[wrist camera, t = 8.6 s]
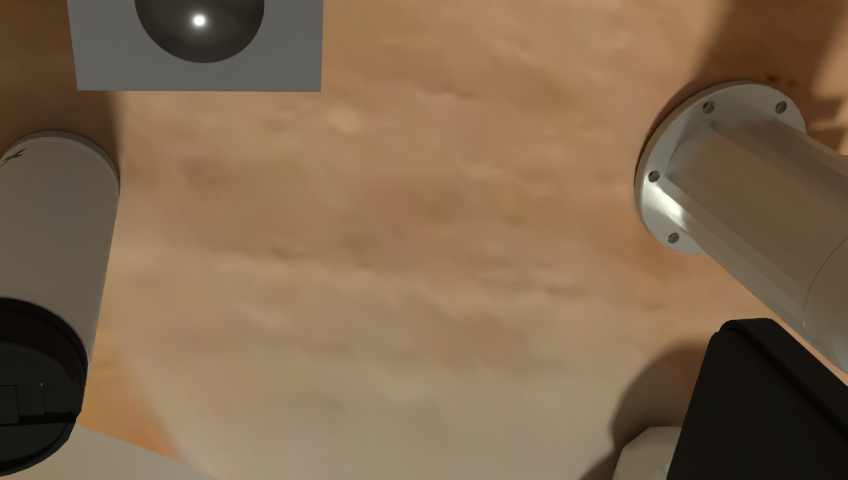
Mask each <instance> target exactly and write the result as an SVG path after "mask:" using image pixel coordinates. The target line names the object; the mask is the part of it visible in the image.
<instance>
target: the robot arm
mask: <svg viewBox="0 0 848 480" xmlns="http://www.w3.org/2000/svg"><path fill="white" fill-rule="evenodd" d="M634 193H635V202H636V208H637V211H638V214H639V217H640V219H641V221H642V223H643V224H644V226H645V227H646V229H647V230H648V231H649V232H650V233H651V234H652V235H653V236H654V237H655V238H656V239H657V240H658V241H659V242H660V243H662V244H663V245H664V246H666V247H668V248H670V249H672V250H675V251H678V252H680V253H686V254H693V255H698V254H708V255H709V256H710V257H711V258H713V259H714V260H715V261H716V262H717V263H718V264H719V265H720V266H722V267H723V268H724V269H725V270H726V271H727V272H728V273H729V274H731V275H732V276H733V277H734V278H735V279H736V280H737V281H738V282H740V283H741V284H742V285H743V286H744V287H745V288H746V289H748V290H749V291H750V292H751V293H752V294H753V295H754V296H755V297H757V298H758V299H759V300H760V301H761V302H762V303H763V304H764V305H766V306H767V307H768V308H769V309H770V310H771V311H772V312H773V313H775V314H776V315H777V316H778V317H779V318H780V319H781V320H783V321H784V322H785V323H786V324H787V325H788V326H789V327H790V328H792V329H793V330H794V331H795V332H796V333H797V334H798V335H799V336H801V337H802V338H803V339H804V340H805V341H806V342H807V343H809V344H810V345H811V346H812V347H813V348H814V349H816V350H817V351H818V352H819V353H820V354H821V355H822V356H824V357H825V358H826V359H827V360H828V361H829V362H831V363H832V364H833V365H834V366H836V367H837V368H838V369H840V370H841V371H843V372H845V373H847V374H848V155H843V154H841V153H839V152H837V151H836V150H834V149H832V148H830V147H828V146H826V145H825V144H823V143H821V142H819V141H817V140H816V139H814V138H812V137H810V136H808V135H807V131H806V125H805V121H804V119H803V117H802V114H801V112H800V110H799V109H798V107H797V106H796V105H795V104H794V102H793V101H792V100H791V99H790V98H789V97H787V96H786V95H785V94H783V93H782V92H780V91H779V90H777V89H775V88H773V87H770V86H768V85H766V84H763V83H759V82H755V81H731V82H726V83H721V84H717V85H715V86H712V87H710V88H707V89H705V90H702V91H701V92H699V93H697V94H695V95H694V96H692V97H690V98H689V99H687V100H686V101H684V102H683V103H682V104H681V105H680V106H678V107H677V108H676V109H675V110H674V111H672V112H671V113H670V114H669V115H668V117H667V118H666V119H665V120H664V121H663V122H662V123H661V124H660V125H659V127H658V128H657V130H656V131H655V133H654V134H653V136H652V137H651V139H650V140H649V142H648V144H647V146H646V148H645V150H644V152H643V154H642V156H641V159H640V162H639V166H638V169H637V173H636V179H635V189H634ZM666 480H848V386H846V385H845V384H844V383H843V382H842V381H841V380H840V379H839V378H838V377H837V376H835V375H834V374H833V373H832V372H831V371H830V370H829V369H828V368H827V367H826V366H824V365H823V364H822V363H821V362H820V361H819V360H818V359H817V358H816V357H814V356H813V355H812V354H811V353H810V352H809V351H808V350H807V349H806V348H805V347H803V346H802V345H801V344H800V343H799V342H798V341H797V340H796V339H795V338H794V337H792V336H791V335H790V334H789V333H788V332H787V331H786V330H785V329H784V328H783V327H781V326H780V325H779V324H778V323H777V322H775V321H774V320H772V319H769V318H754V319H738V320H730V321H727V322H725V323H724V324H723V325H722V326H721V328H720V330H719V332H716V333H714V334H713V335H712V337H711V339H710V341H709V344H708V347H707V350H706V354H705V357H704V360H703V363H702V366H701V369H700V372H699V376H698V379H697V382H696V385H695V388H694V391H693V394H692V398H691V401H690V404H689V407H688V410H687V413H686V417H685V420H684V423H683V426H682V429H681V432H680V435H679V439H678V442H677V445H676V448H675V451H674V454H673V457H672V461H671V464H670V467H669V470H668V473H667V478H666Z"/></svg>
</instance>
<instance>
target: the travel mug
mask: <svg viewBox="0 0 848 480" xmlns="http://www.w3.org/2000/svg"><path fill="white" fill-rule="evenodd" d="M119 194H120V180H119V175H118V172H117V169H116V167H115V165H114V163H113V162H112V160H111V159H110V157H109V156H108V155H107V154H106V153H105V152H104V151H103V150H102V149H101V148H100V147H99V146H97V145H96V144H95V143H93V142H92V141H90V140H88V139H86V138H84V137H82V136H80V135H77V134H73V133H70V132H64V131H57V130H55V131H41V132H36V133H32V134H29V135H27V136H25V137H22V138H20V139H19V140H17V141H16V142H14V143H13V144H12V145H11V146H10V147H9V148H8V149H7V150H6V151H5V152H4V154H3V156H2V157H1V159H0V477H1V476H6V475H10V474H13V473H16V472H19V471H22V470H25V469H28V468H30V467H32V466H34V465H36V464H38V463H40V462H42V461H44V460H45V459H46V458H48V457H49V456H51V455H52V454H53V453H55V452H56V451H57V450H58V449H60V447H61V446H62V445H63V444H64V443H65V442H66V441H67V440H68V439H69V436H70V434H71V432H72V429H73V427H74V425H75V423H76V418H77V417H78V415H79V414H80V412H81V409H82V403H83V398H84V391H85V385H86V382H87V380H88V377H89V372H90V364H91V360H92V354H93V348H94V342H95V336H96V331H97V325H98V319H99V313H100V307H101V301H102V295H103V289H104V283H105V277H106V272H107V266H108V260H109V254H110V248H111V242H112V236H113V230H114V224H115V219H116V213H117V206H118V201H119Z"/></svg>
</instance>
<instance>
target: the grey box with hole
mask: <svg viewBox="0 0 848 480" xmlns="http://www.w3.org/2000/svg"><path fill="white" fill-rule="evenodd" d="M264 3H265V4H264V15H263V20H262V23H261V26H260V28H259V30H258V32H257V34H256V36H255V37H254V39H253V40H252V41H251V43H250V44H249V45H248V46H247V47H246V48H245V49H243V50H242V51H241V52H239V53H238V54H236V55H235V56H233V57H231V58H228V59H226V60H223V61H220V62H214V63H194V62H189V61H185V60H182V59H179V58H177V57H175V56H173V55H171V54H169V53H168V52H166V51H164V50H163V49H162V48H160V47H159V46H158V45H157V44H156V43H155V42H154V41H153V40H152V39H151V38H150V37H149V35H148V34H147V33H146V31H145V30H144V28H143V26H142V25H141V22H140V20H139V18H138V15H137V12H136V8H135V2H134V0H67V6H68V14H69V23H70V31H71V39H72V48H73V56H74V64H75V73H76V81H77V89H78V90H104V91H267V92H321V64H322V29H323V0H264Z"/></svg>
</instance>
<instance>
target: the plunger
mask: <svg viewBox="0 0 848 480" xmlns="http://www.w3.org/2000/svg"><path fill="white" fill-rule="evenodd" d="M134 2H135V8H136V12H137V15H138V18H139V20H140V22H141V25H142V26H143V28H144V30H145V31H146V33H147V34H148V35H149V37H150V38H151V39H152V40H153V41H154V42H155V43H156V44H157V45H158V46H159V47H160V48H162V49H163V50H164V51H166V52H168V53H169V54H171V55H173V56H175V57H177V58H179V59H182V60H185V61H189V62H194V63H214V62H220V61H223V60H226V59H228V58H231V57H233V56H235V55H236V54H238V53H239V52H241V51H242V50H243V49H245V48H246V47H247V46H248V45H249V44H250V43H251V41H252V40H253V39H254V37H255V36H256V34H257V32H258V30H259V28H260V26H261V23H262V20H263V15H264V4H265V3H264V0H134Z"/></svg>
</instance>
